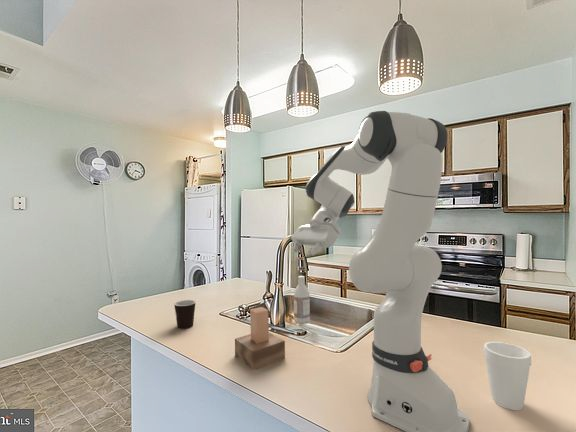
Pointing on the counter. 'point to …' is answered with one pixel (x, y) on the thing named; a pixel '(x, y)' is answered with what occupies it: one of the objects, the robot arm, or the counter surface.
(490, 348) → the foam cup
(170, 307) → the counter surface
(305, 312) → the bath foam
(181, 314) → the coffee mug
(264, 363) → the walnut block
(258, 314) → the light wooden block
